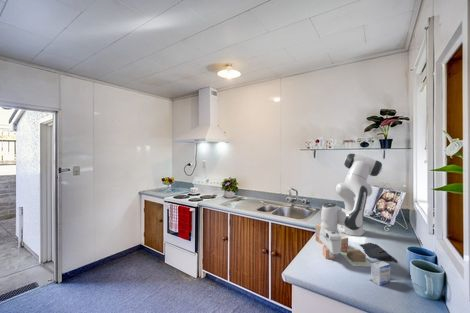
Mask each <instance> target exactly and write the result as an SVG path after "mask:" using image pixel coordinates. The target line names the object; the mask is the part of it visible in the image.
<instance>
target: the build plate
mask: <svg viewBox="0 0 470 313" xmlns="http://www.w3.org/2000/svg"><path fill="white" fill-rule="evenodd" d="M339 255H341V256H342V257H343V258H344V259H345V260H346V261H347V262H348V263H349V264H350V265H351V266H352V267H371V264H372V263H373V262H371V261H370V260H368V259H367V258H366V262H353V261H352V260H351V259H350V258H349V257H348V256H347V251H344V252H340V253H339Z"/></svg>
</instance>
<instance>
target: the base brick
mask: <svg viewBox="0 0 470 313" xmlns="http://www.w3.org/2000/svg"><path fill="white" fill-rule="evenodd" d="M346 252H347V256H348V257H349V258H350V259H351V260H352V261H353V262H366V259H367V254H366V253H365V252H364V251H361V250H360V249H358V248H357V249H355V248H354V249H352V248H348V249H347V251H346Z"/></svg>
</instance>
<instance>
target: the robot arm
mask: <svg viewBox="0 0 470 313" xmlns="http://www.w3.org/2000/svg"><path fill="white" fill-rule="evenodd" d="M343 163H344V164H343V165H344V166H345V168H346V169H349V170H348V171H347V173H346V176H345V178H344V181H343V182H339V183H337V184H336V186H335V193H336V194H337V196H339V197H340V198H341V199H342V200H343V203H344V208H343V207H341V206H338V205H337V204H336V203H333V202H325V203H323V204H322V207H321V212H320V213H321V215H320V218H321V222H320V223H321V230H320V241H321V242H322V243H323V244H322V245H323V246H326V247H327V248H328V249H329V250H330V254H329V257H330V258H333V254H335V255H340V240H341V236H340V235H341V234H340V233H342V234H347V235H350V236H356V237H357V236H359V237H360V236H364V234H365V233H366V231H364V213H365V209H366V204H367V199H368V197H370V196H372V194H373V187H372V186H371V185H370V184H369V183H368V182H367V181H368V178H369V176H370V177H378V176H379V175H380V173H381V172H382V171H383V163H382V162H381V161H379V160H377V159H376V160H375V159H374V158H372V157H368V156H364V155H360V154H355V153H349V154H347V155H346V156H345V158H344V161H343ZM354 198H355V199H354Z"/></svg>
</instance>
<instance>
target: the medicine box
mask: <svg viewBox="0 0 470 313" xmlns="http://www.w3.org/2000/svg"><path fill="white" fill-rule="evenodd" d="M371 263H372V264H371V266H370V281H371V282H373V283H374V284H376V285H378V286H382V285H384V284H388V283H390V282H391V264H390V263H388V262H387V261H381V260H378V261H375V262H371Z"/></svg>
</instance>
